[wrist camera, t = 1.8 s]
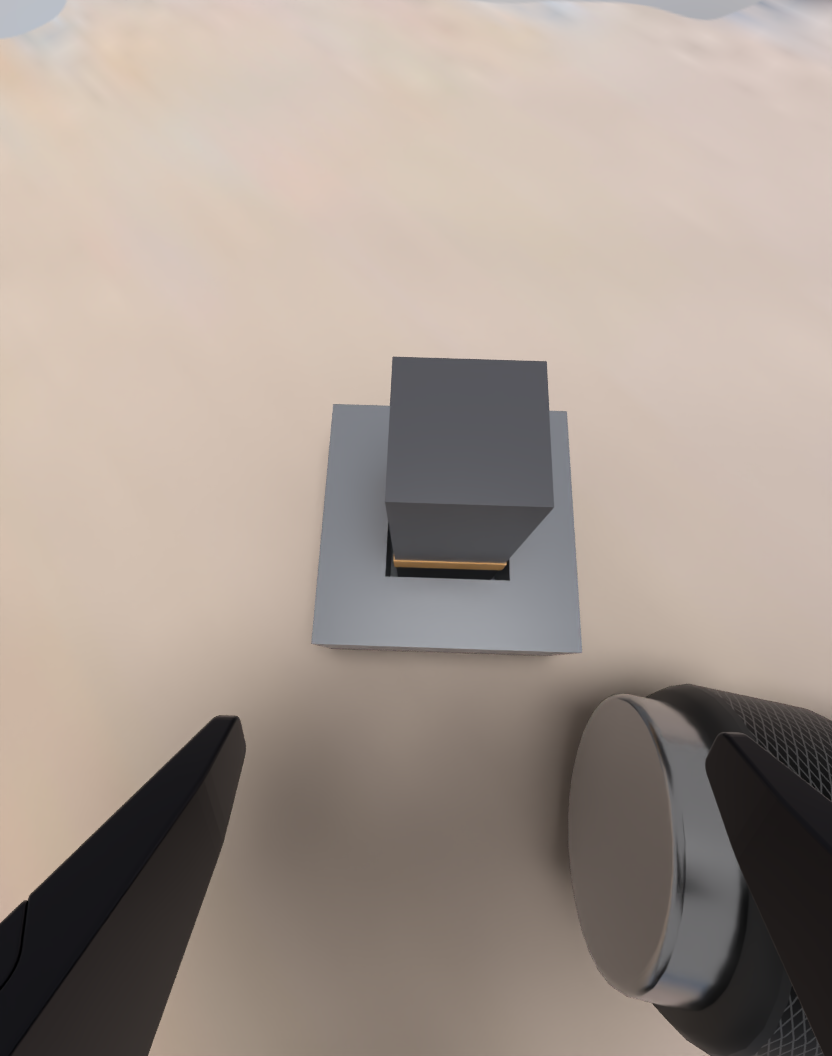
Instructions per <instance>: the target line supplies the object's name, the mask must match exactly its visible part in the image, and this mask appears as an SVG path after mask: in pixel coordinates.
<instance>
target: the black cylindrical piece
mask: <svg viewBox="0 0 832 1056" xmlns="http://www.w3.org/2000/svg"><path fill="white" fill-rule="evenodd" d="M721 732H737V733H743V734H745V735H747V736H749V737H750V738H751V739H753V740H754V741H755V742H757V743H758V744H759V745H760V746H762V747H763V748H764V749H765V750H767V751H768V752H769V753H771V754H772V755H773V756H774V757H776V758H777V759H778V760H779V761H781V762H782V763H783V764H785V765H786V766H787V767H788V768H790V769H791V770H792V771H793V772H795V773H796V774H797V775H799V776H800V777H801V778H802V779H804V780H805V781H806V782H807V783H809V784H810V785H811V786H813V787H814V788H815V789H816V790H818V791H819V792H820V793H821V794H823V795H824V796H825V797H827V798H828V799H829V800H830V801H832V721H831V720H829V719H827V718H825V717H823V716H821V715H819V714H817V713H815V712H813V711H810V710H808V709H804V708H799V707H795V706H791V705H786V704H782V703H777V702H772V701H767V700H763V699H758V698H753V697H748V696H744V695H739V694H734V693H729V692H725V691H720V690H715V689H711V688H706V687H701V686H696V685H692V684H684V685H676V686H670V687H667V688H665V689H662V690H660V691H657V692H655V693H653V694H651V695H649V696H647V697H646V698H644V697H640V696H635V695H630V694H626V693H624V694H616V695H612V696H610V697H608V698H606V699H605V700H603V701H602V702H601V703H600V704H599V705H598V707H597V708H596V709H595V710H594V712H593V714H592V715H591V717H590V719H589V721H588V722H587V725H586V727H585V730H584V732H583V735H582V737H581V741H580V744H579V747H578V751H577V754H576V758H575V763H574V768H573V773H572V779H571V787H570V796H569V810H568V843H569V861H570V870H571V880H572V886H573V892H574V898H575V904H576V909H577V913H578V917H579V921H580V926H581V930H582V933H583V936H584V939H585V941H586V944H587V947H588V950H589V953H590V955H591V957H592V959H593V961H594V963H595V965H596V967H597V969H598V971H599V972H600V973H601V974H602V976H603V977H604V978H605V980H606V981H607V982H608V983H609V985H611V986H612V987H613V988H614V989H616V990H617V991H619V992H621V993H622V994H624V995H625V996H627V997H630V998H634V999H638V1000H643V1001H647V1002H651V1003H652V1004H653V1005H654V1006H655V1007H656V1008H657V1009H658V1010H659V1012H660V1013H661V1014H662V1015H663V1016H664V1017H665V1018H666V1019H667V1021H668V1022H669V1023H670V1024H671V1025H672V1026H673V1027H674V1028H675V1029H676V1030H677V1031H678V1032H679V1033H680V1034H681V1035H682V1036H683V1037H684V1038H685V1039H686V1040H687V1041H689V1042H690V1043H692V1044H693V1045H695V1046H696V1047H698V1048H700V1049H701V1050H703V1051H704V1052H706V1053H707V1054H709V1055H710V1056H824V1055H823V1053H822V1051H821V1048H820V1046H819V1044H818V1042H817V1039H816V1037H815V1035H814V1033H813V1030H812V1028H811V1026H810V1024H809V1022H808V1019H807V1017H806V1015H805V1013H804V1010H803V1008H802V1006H801V1004H800V1001H799V999H798V997H797V995H796V992H795V990H794V988H793V986H792V984H791V981H790V979H789V977H788V975H787V972H786V970H785V968H784V966H783V963H782V961H781V959H780V957H779V955H778V952H777V950H776V948H775V946H774V943H773V941H772V939H771V937H770V934H769V932H768V930H767V928H766V926H765V923H764V921H763V919H762V917H761V914H760V912H759V910H758V908H757V905H756V903H755V901H754V899H753V897H752V894H751V892H750V890H749V888H748V885H747V883H746V881H745V879H744V876H743V874H742V872H741V869H740V867H739V865H738V862H737V860H736V857H735V855H734V852H733V849H732V847H731V844H730V841H729V838H728V835H727V832H726V829H725V826H724V823H723V820H722V818H721V815H720V812H719V809H718V806H717V803H716V800H715V797H714V794H713V791H712V788H711V786H710V783H709V780H708V777H707V774H706V769H705V760H706V757H707V755H708V753H709V751H710V749H711V747H712V745H713V743H714V741H715V739H716V737H717V735H718V734H720V733H721Z"/></svg>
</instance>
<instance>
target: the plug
mask: <svg viewBox="0 0 832 1056" xmlns="http://www.w3.org/2000/svg"><path fill="white" fill-rule="evenodd" d="M385 506H386V511H387V517H388V523H389V529H390V534H391V540H392V546H393V552H394V560H393V561H394V567H396V569H397V575H398V577H414V578H445V579H475V580H491V579H492V578H493V577H494V576H495V575H496V573H497V572H498V571H499V570H502V569H503V568H504V567H505V566H506V565H507V563H506V562H507V561H508V560H509V559H510V557H511V556H512V555H513V554H514V553H515V552H516V551H517V549H518V548H519V547H520V546H521V545H522V544H523V543H524V541H525V540H526V539H527V538H528V537H529V536H530V535H531V533H532V532H533V531H534V530H535V529H536V528H537V527H538V525H539V524H540V523H541V522H542V521H543V520H544V519H545V517H546V516H547V515H548V514H549V513H550V512H551V510H552V509H553V508H554V493H553V474H552V455H551V435H550V416H549V397H548V378H547V361H515V360H483V359H450V358H417V357H393V360H392V378H391V397H390V416H389V434H388V453H387V471H386V490H385Z"/></svg>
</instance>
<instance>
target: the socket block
mask: <svg viewBox="0 0 832 1056" xmlns="http://www.w3.org/2000/svg"><path fill="white" fill-rule="evenodd" d="M389 416H390V406H378V405H345V404H333V413H332V424H331V435H330V446H329V457H328V468H327V479H326V490H325V501H324V512H323V522H322V533H321V544H320V555H319V566H318V577H317V588H316V599H315V610H314V621H313V632H312V643H311V644H315V645H319V646H323V647H327V648H331V649H361V650H391V651H421V652H451V653H481V654H510V655H540V656H552V655H563V654H574V653H582V642H581V626H580V611H579V595H578V580H577V564H576V548H575V533H574V517H573V501H572V486H571V470H570V454H569V439H568V423H567V411H549V416H550V435H551V455H552V474H553V493H554V508H553V509H552V510H551V512H550V513H549V514H548V515H547V516H546V517H545V519H544V520H543V521H542V522H541V523H540V524H539V525H538V527H537V528H536V529H535V530H534V531H533V532H532V533H531V535H530V536H529V537H528V538H527V539H526V540H525V541H524V543H523V544H522V545H521V546H520V547H519V548H518V549H517V551H516V552H515V553H514V554H513V555H512V556H511V557H510V559H509V560H508V561H507V562H506V563H507V565H506V566H505V567H504V568H503V569H502V570H499V571H498V572H497V573H496V575H495V576H494V577H493V578H492V579H491V580H475V579H445V578H414V577H398V575H397V569H396V567H394V561H393V560H394V552H393V546H392V540H391V534H390V529H389V523H388V517H387V511H386V506H385V490H386V471H387V453H388V434H389Z"/></svg>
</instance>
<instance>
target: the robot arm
mask: <svg viewBox="0 0 832 1056" xmlns="http://www.w3.org/2000/svg"><path fill="white" fill-rule="evenodd" d="M245 752H246V743H245V739H244V734H243V730H242V725H241V721H240V719H239V717H238V716H230V715H219V716H216V717H214V718H213V719H212V720H211V721H210V722H209V723H208V724H207V725H206V726H205V727H203V728H202V729H201V730H200V731H199V732H198V733H197V734H196V735H195V736H194V737H193V738H192V739H191V740H190V741H189V742H188V743H187V744H186V745H185V746H184V747H183V748H182V749H181V750H180V751H179V752H178V753H177V754H175V755H174V756H173V757H172V758H171V759H170V760H169V761H168V762H167V763H166V764H165V765H164V766H163V767H162V768H161V769H160V770H159V771H158V772H157V773H156V774H155V775H154V776H153V777H152V778H151V779H150V780H149V781H147V782H146V783H145V784H144V785H143V786H142V787H141V788H140V789H139V790H138V791H137V792H136V793H135V794H134V795H133V796H132V797H131V798H130V799H129V800H128V801H127V802H126V803H125V804H124V805H123V806H122V807H120V808H119V809H118V810H117V811H116V812H115V813H114V814H113V815H112V816H111V817H110V818H109V819H108V820H107V821H106V822H105V823H104V824H103V825H102V826H101V827H100V828H99V829H98V830H97V831H96V832H95V833H94V834H92V835H91V836H90V837H89V838H88V839H87V840H86V841H85V842H84V843H83V844H82V845H81V846H80V847H79V848H78V849H77V850H76V851H75V852H74V853H73V854H72V855H71V856H70V857H69V858H68V859H67V860H66V861H64V862H63V863H62V864H61V865H60V866H59V867H58V868H57V869H56V870H55V871H54V872H53V873H52V874H51V875H50V876H49V877H48V878H47V879H46V880H45V881H44V882H43V883H42V884H41V885H40V886H39V887H38V888H36V889H35V890H34V891H33V892H32V893H31V894H30V896H29V898H28V901H27V900H25V901H23V902H22V903H21V904H20V905H19V906H18V907H16V908H15V909H14V910H13V911H12V912H11V913H10V914H9V915H8V916H7V917H6V918H5V919H4V920H3V921H2V922H1V923H0V1056H148V1054H149V1051H150V1048H151V1045H152V1042H153V1040H154V1037H155V1034H156V1031H157V1028H158V1026H159V1023H160V1020H161V1017H162V1014H163V1012H164V1009H165V1006H166V1003H167V1000H168V998H169V995H170V992H171V989H172V986H173V984H174V981H175V978H176V975H177V972H178V969H179V967H180V964H181V961H182V958H183V955H184V953H185V950H186V947H187V944H188V941H189V939H190V936H191V933H192V930H193V927H194V925H195V922H196V919H197V916H198V913H199V911H200V908H201V905H202V902H203V899H204V897H205V894H206V891H207V888H208V885H209V882H210V880H211V877H212V874H213V871H214V868H215V866H216V863H217V860H218V857H219V854H220V851H221V848H222V845H223V842H224V838H225V834H226V831H227V827H228V823H229V819H230V815H231V811H232V806H233V802H234V798H235V794H236V790H237V786H238V782H239V778H240V774H241V770H242V766H243V762H244V758H245ZM705 769H706V774H707V777H708V780H709V783H710V786H711V788H712V791H713V794H714V797H715V800H716V803H717V806H718V809H719V812H720V815H721V818H722V820H723V823H724V826H725V829H726V832H727V835H728V838H729V841H730V844H731V847H732V849H733V852H734V855H735V857H736V860H737V862H738V865H739V867H740V869H741V872H742V874H743V876H744V879H745V881H746V883H747V885H748V888H749V890H750V892H751V894H752V897H753V899H754V901H755V903H756V905H757V908H758V910H759V912H760V914H761V917H762V919H763V921H764V923H765V926H766V928H767V930H768V932H769V934H770V937H771V939H772V941H773V943H774V946H775V948H776V950H777V952H778V955H779V957H780V959H781V961H782V963H783V966H784V968H785V970H786V972H787V975H788V977H789V979H790V981H791V984H792V986H793V988H794V990H795V992H796V995H797V997H798V999H799V1001H800V1004H801V1006H802V1008H803V1010H804V1013H805V1015H806V1017H807V1019H808V1022H809V1024H810V1026H811V1028H812V1030H813V1033H814V1035H815V1037H816V1039H817V1042H818V1044H819V1046H820V1048H821V1051H822V1053H823V1055H824V1056H832V801H830V800H829V799H828V798H827V797H825V796H824V795H823V794H821V793H820V792H819V791H818V790H816V789H815V788H814V787H813V786H811V785H810V784H809V783H807V782H806V781H805V780H804V779H802V778H801V777H800V776H799V775H797V774H796V773H795V772H793V771H792V770H791V769H790V768H788V767H787V766H786V765H785V764H783V763H782V762H781V761H779V760H778V759H777V758H776V757H774V756H773V755H772V754H771V753H769V752H768V751H767V750H765V749H764V748H763V747H762V746H760V745H759V744H758V743H757V742H755V741H754V740H753V739H751V738H750V737H749V736H747V735H745V734H743V733H737V732H721V733H720V734H718V735H717V737H716V739H715V741H714V743H713V745H712V747H711V749H710V751H709V753H708V755H707V757H706V760H705Z"/></svg>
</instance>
